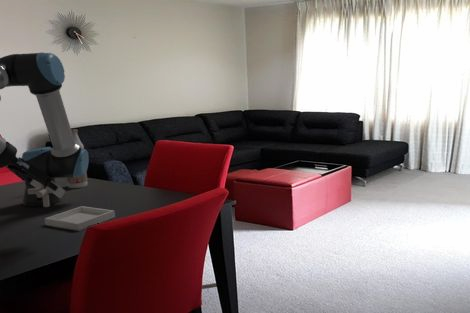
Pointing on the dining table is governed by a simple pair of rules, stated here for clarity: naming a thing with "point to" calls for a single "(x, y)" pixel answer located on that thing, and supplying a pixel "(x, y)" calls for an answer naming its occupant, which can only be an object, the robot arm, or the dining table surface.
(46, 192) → the pipe connector
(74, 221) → the tray
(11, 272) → the dining table surface
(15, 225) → the dining table surface
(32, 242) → the dining table surface
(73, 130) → the fruit juice
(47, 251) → the dining table surface
